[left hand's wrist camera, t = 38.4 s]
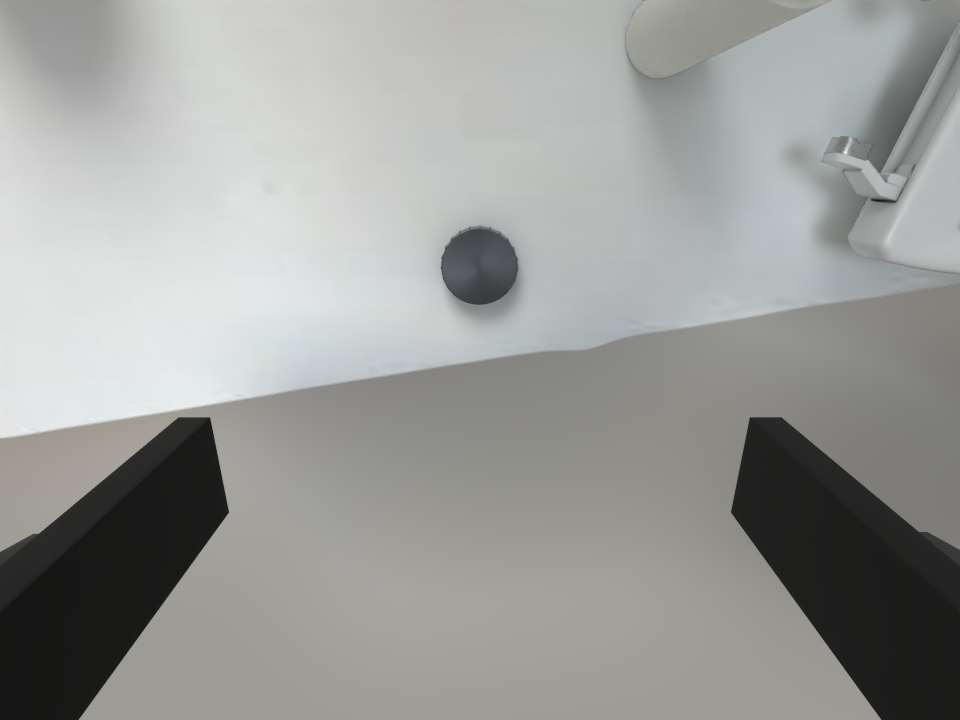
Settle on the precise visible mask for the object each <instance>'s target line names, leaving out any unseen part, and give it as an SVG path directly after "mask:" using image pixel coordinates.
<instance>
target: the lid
mask: <svg viewBox="0 0 960 720" xmlns="http://www.w3.org/2000/svg"><path fill="white" fill-rule="evenodd" d="M445 249H446V250H445V252H444V254H443V255H442V258H441V259H442V266H441V269H442V275H443V279H444V281H445V284H446V285H447V287H448V289H449V290H450V291H451V292H452V293H453V294H454V295H455V296H456V297H457V298H459V299H461V300H462V301H465V302H467V303H471V304H479V305H481V304H488V303H491V302H494V301H496V300H498V299H500V298H501V297H503V296H504V295H505V294H506V293H507V292H508V291H509V290H510V288H511V287H512V285H513V283H514V281H515V278H516V274H517V271H518V269H517V257H516V256H515V253H514V247H512V246H511V244H510V243H509V240H508V238H507V239H506V238H505V237H504V236H503V235H502V234H501V232H500V231H499V232H497V231H495V230H493V229H491V227H490V228H487V227H481V226H479V227H472V228H471V227H469V228H468V229H465V230H463V231H459V233H458V234H457V235H456V236H454V237H452V238H451V241H450V242H449V244H448V245H447V246H446V247H445Z"/></svg>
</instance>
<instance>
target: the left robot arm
mask: <svg viewBox="0 0 960 720" xmlns="http://www.w3.org/2000/svg"><path fill="white" fill-rule="evenodd" d="M228 513H229V510H228V505H227V500H226V495H225V490H224V485H223V480H222V475H221V470H220V465H219V460H218V455H217V450H216V445H215V440H214V435H213V430H212V425H211V420H210V418H209V417H208V418H202V417H201V418H196V417H189V418H185V417H181V418H180V417H179V418H177V419H176V420H175V421H174V422H173V423H171V424H170V425H169V426H168V427H167V428H165V429H164V430H163V431H162V432H161V433H159V434H158V435H157V436H156V437H155V438H153V439H152V440H151V441H150V442H149V443H147V444H146V445H145V446H144V447H143V448H141V449H140V450H139V451H138V452H137V453H135V454H134V455H133V456H132V457H131V458H129V459H128V460H127V461H126V462H125V463H123V464H122V465H121V466H120V467H119V468H117V469H116V470H115V471H114V472H113V473H111V474H110V475H109V476H108V477H107V478H105V479H104V480H103V481H102V482H101V483H99V484H98V485H97V486H96V487H95V488H93V489H92V490H91V491H90V492H89V493H87V494H86V495H85V496H84V497H83V498H81V499H80V500H79V501H78V502H77V503H75V504H74V505H73V506H72V507H71V508H69V509H68V510H67V511H66V512H65V513H63V514H62V515H61V516H60V517H59V518H57V519H56V520H55V521H54V522H53V523H51V524H50V525H49V526H48V527H47V528H45V529H44V530H43V531H42V532H41V533H39V534H32V535H31V536H29V537H27V538H25V539H23V540H21V541H20V542H18V543H16V544H14V545H12V546H11V547H9V548H7V549H5V550H3V551H1V552H0V720H79V718H80V717H81V716H82V714H83V713H84V712H85V710H86V709H87V707H88V706H89V705H90V703H91V702H92V700H93V699H94V698H95V696H96V695H97V694H98V692H99V691H100V689H101V688H102V687H103V685H104V684H105V683H106V681H107V680H108V678H109V677H110V676H111V674H112V673H113V672H114V670H115V669H116V667H117V666H118V665H119V663H120V662H121V661H122V659H123V658H124V656H125V655H126V654H127V652H128V651H129V649H130V648H131V647H132V645H133V644H134V643H135V641H136V640H137V638H138V637H139V636H140V634H141V633H142V632H143V630H144V629H145V627H146V626H147V625H148V623H149V622H150V621H151V619H152V618H153V616H154V615H155V614H156V612H157V611H158V610H159V608H160V607H161V605H162V604H163V603H164V601H165V600H166V598H167V597H168V596H169V594H170V593H171V592H172V590H173V589H174V587H175V586H176V585H177V583H178V582H179V581H180V579H181V578H182V576H183V575H184V574H185V572H186V571H187V570H188V568H189V567H190V565H191V564H192V563H193V561H194V560H195V559H196V557H197V556H198V554H199V553H200V552H201V550H202V549H203V547H204V546H205V545H206V543H207V542H208V540H209V539H210V538H211V536H212V535H213V534H214V532H215V531H216V530H217V528H218V527H219V525H220V524H221V523H222V521H223V520H224V519H225V517H226V516H227V514H228ZM731 513H732V514H733V516H734V517H735V519H736V520H737V521H738V523H739V524H740V525H741V527H742V528H743V530H744V531H745V532H746V534H747V535H748V536H749V538H750V539H751V541H752V542H753V543H754V545H755V546H756V547H757V549H758V550H759V552H760V553H761V554H762V556H763V557H764V558H765V560H766V561H767V563H768V564H769V565H770V567H771V568H772V569H773V571H774V572H775V574H776V575H777V576H778V578H779V579H780V581H781V582H782V583H783V585H784V586H785V587H786V589H787V590H788V592H789V593H790V594H791V596H792V597H793V598H794V600H795V601H796V603H797V604H798V605H799V607H800V608H801V610H802V611H803V612H804V614H805V615H806V616H807V618H808V619H809V620H810V622H811V623H812V625H813V626H814V627H815V629H816V630H817V632H818V633H819V634H820V636H821V637H822V638H823V640H824V641H825V643H826V644H827V645H828V647H829V648H830V650H831V651H832V652H833V654H834V655H835V656H836V658H837V659H838V661H839V662H840V663H841V665H842V666H843V667H844V669H845V670H846V672H847V673H848V674H849V676H850V677H851V678H852V680H853V681H854V683H855V684H856V685H857V687H858V688H859V690H860V691H861V692H862V694H863V695H864V696H865V698H866V699H867V701H868V702H869V703H870V705H871V706H872V707H873V709H874V710H875V711H876V713H877V714H878V716H879V717H880V718H881V720H960V550H959V549H957V548H955V547H953V546H952V545H950V544H948V543H946V542H944V541H943V540H941V539H939V538H937V537H935V536H933V535H932V534H930V533H928V532H918V531H917V530H916V529H915V528H913V527H912V526H911V525H910V524H909V523H907V522H906V521H905V520H904V519H903V518H901V517H900V516H899V515H898V514H897V513H895V512H894V511H893V510H892V509H891V508H889V507H888V506H887V505H886V504H885V503H883V502H882V501H881V500H880V499H879V498H877V497H876V496H875V495H874V494H873V493H871V492H870V491H869V490H868V489H867V488H865V487H864V486H863V485H862V484H861V483H859V482H858V481H857V480H856V479H855V478H853V477H852V476H851V475H850V474H849V473H847V472H846V471H845V470H844V469H843V468H841V467H840V466H839V465H838V464H837V463H835V462H834V461H833V460H832V459H831V458H829V457H828V456H827V455H826V454H825V453H823V452H822V451H821V450H820V449H819V448H817V447H816V446H815V445H814V444H813V443H811V442H810V441H809V440H808V439H807V438H805V437H804V436H803V435H802V434H800V433H799V432H798V431H797V430H796V429H795V428H793V427H792V426H791V425H790V424H789V423H787V422H786V421H785V420H784V419H783V418H781V417H780V418H779V417H778V418H775V417H774V418H773V417H772V418H771V417H770V418H769V417H768V418H767V417H765V418H764V417H763V418H762V417H761V418H759V417H754V418H753V417H752V418H750V420H749V425H748V430H747V435H746V440H745V445H744V450H743V455H742V460H741V465H740V470H739V475H738V480H737V485H736V490H735V495H734V500H733V505H732V510H731Z"/></svg>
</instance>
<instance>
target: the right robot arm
mask: <svg viewBox="0 0 960 720" xmlns="http://www.w3.org/2000/svg"><path fill="white" fill-rule="evenodd" d="M920 1H923V2H926V1H928V0H920ZM872 147H873V144H870V143H867V142H864V141H861V142H858V140H857V139H855V138H852V137H846V136H840V137H839V138H838V137H832V139H831V141H830V143H829V145H828V147H827V149H826V151H825V153H824V155H823V157H822V160H821V162H822V163H825V164H828V165H832V166H835V167H838V168H841V169H843V170H842V172H843V174H844V175H845V177H846V178H847V180H848V181H849V183H850V185H851V186H852V188H853V189H854V191H855V192H856V194H859V195H862V196H865V197H868V199H867V201H866V202H865V204H864V206H863V208H862V210H861V212H860V214H859V216H858V218H857V220H856V222H855V224H854V226H853V228H852V229H851V231H850V233H849V236H848V241H849V244H850V246H851V248H852V250H853V252H854V253H855V254H857V255H861V256H864V257H868V258H872V259H876V260H880V261H884V262H888V263H893V264H898V265H902V266H907V267H912V268H917V269H923V270H929V271H936V272H945V273H956V274H960V20H959V22H958V23H957V25H956V27H955V29H954V31H953V33H952V35H951V37H950V39H949V41H948V43H947V45H946V47H945V49H944V51H943V53H942V55H941V57H940V59H939V60H938V62H937V64H936V66H935V68H934V70H933V72H932V74H931V76H930V78H929V80H928V82H927V84H926V86H925V88H924V90H923V92H922V94H921V95H920V97H919V99H918V101H917V103H916V105H915V107H914V109H913V111H912V113H911V115H910V117H909V119H908V121H907V123H906V125H905V127H904V129H903V131H902V132H901V134H900V136H899V138H898V140H897V142H896V144H895V146H894V148H893V150H892V152H891V154H890V156H889V158H888V160H887V162H886V164H885V166H884V167H883V169H882V171H881V173H878V172H877V170H876V169H875V168H874V166H873V165H872V164H871V162H870V161H869V160H868V159H867V157H868V155H869V153H870V151H871V149H872Z"/></svg>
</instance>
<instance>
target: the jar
mask: <svg viewBox="0 0 960 720" xmlns="http://www.w3.org/2000/svg"><path fill="white" fill-rule="evenodd" d="M829 1H831V0H644V1H643V2H642V3H641V4H640V6H639V7H638V8H637V9H636V10H635V12H634V13H633V15H632V17H631V19H630V21H629V23H628V27H627V31H626V39H625V42H626V51H627V54H628V57H629V59H630V61H631V63H632V65H633V66H634V67H635V68H636V69H637V70H638V71H639V72H640V73H642V74H643V75H645V76H647V77H651V78H666V77H670V76H672V75H675V74H677V73H679V72H681V71H683V70H685V69H687V68H689V67H692V66H694V65H696V64H698V63H700V62H702V61H704V60H706V59H709V58H711V57H713V56H715V55H717V54H719V53H721V52H723V51H726V50H728V49H730V48H732V47H734V46H736V45H738V44H740V43H742V42H745V41H747V40H749V39H751V38H753V37H755V36H757V35H759V34H762V33H764V32H766V31H768V30H770V29H772V28H774V27H776V26H779V25H781V24H783V23H785V22H787V21H789V20H791V19H793V18H796V17H798V16H800V15H802V14H804V13H806V12H808V11H810V10H812V9H815V8H817V7H819V6H821V5H823V4H825V3H827V2H829Z"/></svg>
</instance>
